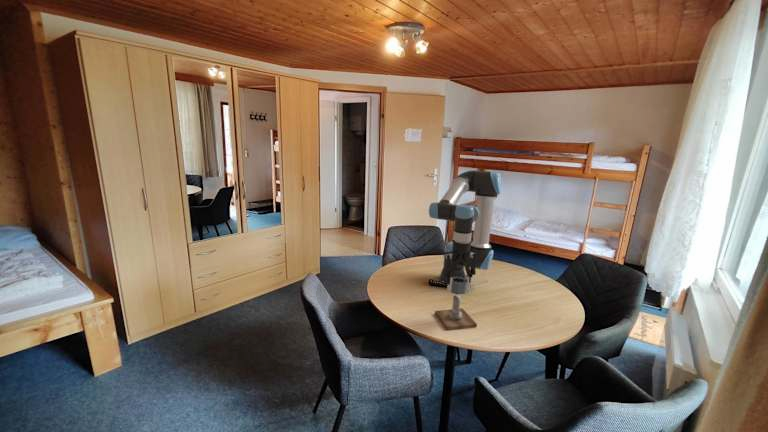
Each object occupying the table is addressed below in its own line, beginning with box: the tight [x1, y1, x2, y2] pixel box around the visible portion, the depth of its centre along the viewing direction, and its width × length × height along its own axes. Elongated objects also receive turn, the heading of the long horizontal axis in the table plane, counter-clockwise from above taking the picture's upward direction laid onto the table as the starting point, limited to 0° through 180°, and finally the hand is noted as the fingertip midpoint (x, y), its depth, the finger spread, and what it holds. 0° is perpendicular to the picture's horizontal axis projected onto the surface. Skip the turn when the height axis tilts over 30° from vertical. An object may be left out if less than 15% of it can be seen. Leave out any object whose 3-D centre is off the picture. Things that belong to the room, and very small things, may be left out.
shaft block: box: [434, 294, 478, 331], centre depth 148 cm, size 14×14×12 cm
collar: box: [450, 277, 468, 296], centre depth 145 cm, size 7×7×5 cm
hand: (457, 290), depth 146 cm, fingers closed on collar, 7 cm apart
